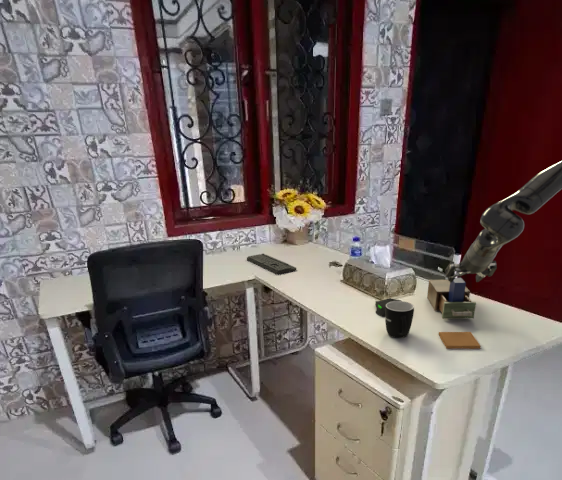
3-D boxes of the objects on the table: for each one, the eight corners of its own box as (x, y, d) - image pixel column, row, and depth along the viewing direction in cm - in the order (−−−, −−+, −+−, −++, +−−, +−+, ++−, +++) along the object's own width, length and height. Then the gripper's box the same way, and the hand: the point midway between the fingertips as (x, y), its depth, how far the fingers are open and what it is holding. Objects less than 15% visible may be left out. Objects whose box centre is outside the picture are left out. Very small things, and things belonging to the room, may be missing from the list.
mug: (381, 328, 143) (382, 301, 138) (407, 327, 142) (410, 300, 138) (389, 344, 132) (391, 315, 127) (417, 343, 132) (420, 314, 127)
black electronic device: (380, 320, 149) (381, 309, 147) (369, 303, 164) (370, 294, 162) (412, 318, 149) (413, 307, 148) (398, 301, 164) (398, 292, 162)
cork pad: (470, 334, 135) (470, 331, 135) (480, 348, 126) (480, 345, 126) (438, 334, 137) (438, 331, 136) (446, 348, 128) (446, 345, 127)
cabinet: (467, 310, 153) (470, 291, 149) (434, 311, 154) (437, 291, 151) (457, 297, 165) (459, 279, 162) (426, 298, 166) (428, 279, 163)
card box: (457, 306, 152) (461, 277, 147) (461, 312, 147) (466, 282, 142) (446, 306, 152) (450, 277, 147) (450, 312, 147) (455, 282, 142)
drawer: (477, 323, 141) (480, 307, 138) (445, 323, 142) (447, 307, 139) (463, 305, 155) (465, 290, 153) (434, 305, 157) (436, 290, 154)
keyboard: (296, 270, 209) (296, 266, 208) (277, 274, 204) (277, 270, 203) (264, 256, 237) (263, 252, 236) (246, 259, 232) (246, 256, 231)
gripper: (503, 243, 124) (484, 269, 139) (454, 244, 126) (440, 270, 141) (507, 265, 122) (487, 289, 137) (456, 266, 123) (442, 290, 139)
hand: (463, 279), depth 139 cm, fingers open, 8 cm apart
